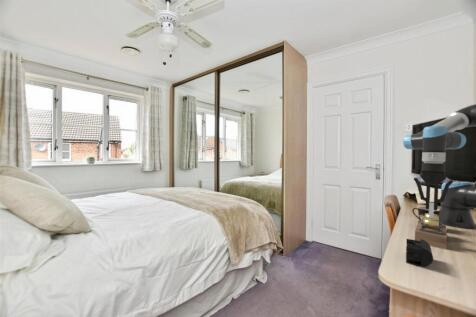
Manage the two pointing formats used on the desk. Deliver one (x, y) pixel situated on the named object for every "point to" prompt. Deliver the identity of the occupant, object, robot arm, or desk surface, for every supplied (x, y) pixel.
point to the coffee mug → (423, 212)
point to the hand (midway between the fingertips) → (431, 217)
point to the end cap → (418, 253)
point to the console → (432, 234)
